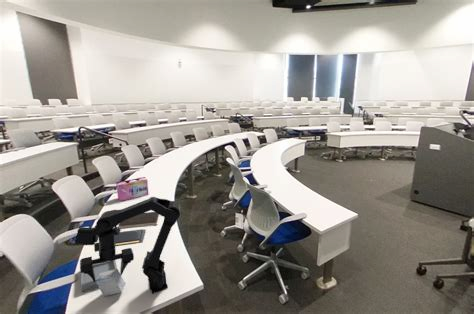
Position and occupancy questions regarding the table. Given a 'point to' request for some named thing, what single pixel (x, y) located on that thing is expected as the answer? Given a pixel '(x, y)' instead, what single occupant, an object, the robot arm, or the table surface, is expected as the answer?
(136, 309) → the table surface
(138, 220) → the hardcover book
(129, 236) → the dark gray book
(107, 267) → the bin
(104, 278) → the medicine box
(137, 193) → the gum box
